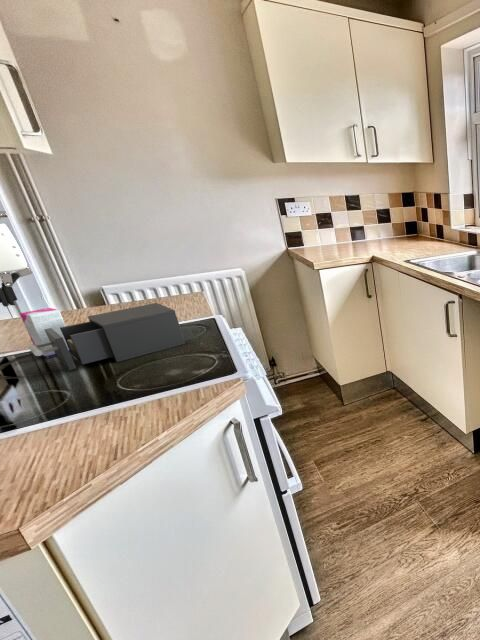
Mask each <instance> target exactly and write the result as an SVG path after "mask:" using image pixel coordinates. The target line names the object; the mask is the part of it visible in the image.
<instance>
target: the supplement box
mask: <svg viewBox="0 0 480 640" xmlns="http://www.w3.org/2000/svg"><path fill="white" fill-rule="evenodd" d="M19 315H20V317H21V321H22V322H23V324H24V326H25V329H26V331H27V333H28V335H29V338H30V341H31V342H32V344H35V345H39V344H44V343H48V342H50V341H49V338H48V336H47V334H46V332H45V329H48V328H52V329H53V330H54V331H55V332H57V333H58V334H59V335H60V336H61V337H63V339H64V336H63V334H62V332H61V329H60V327H65V326H67V325H66V323H65V321H64V318H63V316H62V313H61V310H60V309H56V308H52V307H46V308H40V309H36V310H29V311H24V312H20V313H19ZM64 341H65V339H64ZM65 344H66V346H67V348H68V345H67V343H66V341H65ZM49 348H53V347H52V345H48V346H44V347H40V348H39V349H40V350H41V351H42V350H45V349H49ZM68 350H69V348H68ZM69 353H71V352H70V350H69ZM40 357H44V358H46V359H50V358H53V357H57V356H56V354H55V352H54V351H50V352H46V353H43V354H42V355H41V356H40Z"/></svg>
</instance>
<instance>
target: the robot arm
mask: <svg viewBox="0 0 480 640" xmlns="http://www.w3.org/2000/svg"><path fill="white" fill-rule="evenodd" d="M3 218H8V214H7V212H6V210H0V219H3ZM32 274H33V270H32V269H31V268H30V266H29V265H28V263H27V260H26V257H25V256H24V254H23V251H22V250H21V247H20V246H19V244H18V242H17V240H16V238H15V236H14V235H13V233H12V232H11V230H10V229H9V228H8V225H6V223H4V222H3V223H0V277H1V281H2V282H1V284H0V285H1V287H0V304H2V306H3V307H4V308H5V307H8V306H16V303H15V301H18V297H17V295H16V292H15V290H14V288H13V286H14V285H15V283H16V281H18V279H19V278H23V277H26V276H29V275H32Z"/></svg>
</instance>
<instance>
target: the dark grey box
mask: <svg viewBox="0 0 480 640" xmlns="http://www.w3.org/2000/svg"><path fill="white" fill-rule="evenodd" d="M60 329H61V332H62V334H63V336H64V339H65V341H66V343H67V345H68V348H69V350H70V352H69V350H68V348H67V346H66V344H65V341H64V339H63V337H61V336H60V335H59V334H58V333H57V332H55V331H54V330H53V329H52V328H48V329H45V332H46V334H47V336H48V338H49V341H50V342H48V343H44V344H39V345H35V344H33V343H32V344H29V345H27V348H28V350H29V351H30V352H31V353H32V354H33V355H34V356H36V357H42V356H41V355H42V354H43V353H46V352H50V351H54V352H55V354H56V356H55V357H56V359H57V360H58V361H59V362H60V363H61V364H62V365H64V366H65V367H66V369H68V371H71V370H75V369H77V366H76V365H75V364H76V363H75V361H74V360H73V358H72V357H74V358H75V359H76V360H77V361H78V362H79V363H80V364H81V365H86V364H91V363H94V362H98V361H102V360H105V359H110V358H111V357H114V355H113V353H112V350H111V348H110V345H109V343H108V340H107V338H106V335H105V333H104V330H103V328H102V327H100V326H99V325H97V324H96V323H94V322H92V321H86V322H80V323H76V324H71V325H66V326H65V327H60ZM69 339H71V340H72V342H73V345H74V347H75V349H76V351H77V354H78V356H79V358H77V357H76V356H74V355H73V353H72V351H71V349H70V346H69V344H68V342H67V340H69ZM48 345H52V347H53V348H49V349H45V350H42V351H41V350H40V349H39V348H40V347H44V346H48Z"/></svg>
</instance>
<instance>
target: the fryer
mask: <svg viewBox="0 0 480 640" xmlns="http://www.w3.org/2000/svg"><path fill="white" fill-rule="evenodd" d="M87 319H88V322H90V321H92V322H94V323H96V324H97V325H99V326H100V327H102V328H103V330H104V333H105V335H106V338H107V340H108V343H109V345H110V348H111V350H112V353H113V355H114V357H110V358H111V359H112V360H113V361H114V362H116V363H119V362H123V361H126V360H130V359H134V358H138V357H141V356H145V355H149V354H153V353H156V352H157V353H158V352H160V351H164V350H167V349H172V348H175V347H179V346H182V345H186V340H185V337H184V334H183V332H182V328H181V325H180V322H179V319H178V315H177V313H176V310H175V309H173V308H171V307H168V306H166V305H163V304H161V303H158V302H154V303H149V304H148V303H147V304H143V305H138V306H133V307H128V308H123V309H119V310H114V311H108V312H102V313H98V314H92V315H88V316H87Z"/></svg>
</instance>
